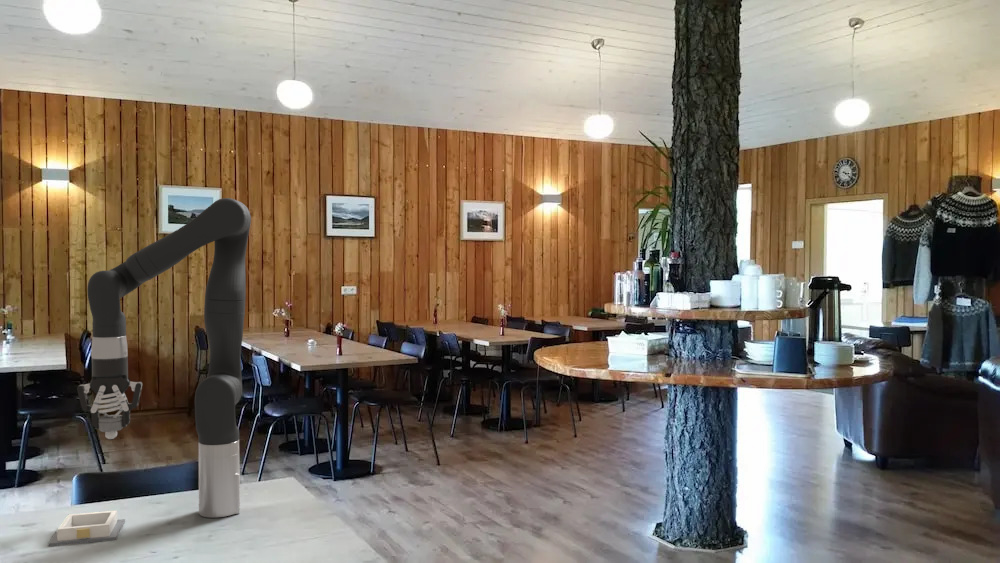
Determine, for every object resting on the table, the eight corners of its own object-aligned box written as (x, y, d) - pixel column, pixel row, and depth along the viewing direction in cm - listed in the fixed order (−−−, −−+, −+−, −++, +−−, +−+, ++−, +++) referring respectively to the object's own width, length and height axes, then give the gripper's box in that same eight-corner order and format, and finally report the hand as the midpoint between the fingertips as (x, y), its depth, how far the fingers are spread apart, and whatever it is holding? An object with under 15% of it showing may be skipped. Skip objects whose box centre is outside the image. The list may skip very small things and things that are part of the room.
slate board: (125, 521, 178) (125, 519, 178) (116, 539, 166) (116, 537, 166) (61, 527, 174) (61, 524, 174) (48, 546, 163) (48, 543, 163)
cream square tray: (117, 521, 176) (117, 510, 176) (108, 536, 166) (108, 525, 166) (68, 525, 173) (68, 514, 173) (56, 541, 163) (56, 530, 163)
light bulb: (130, 438, 182) (129, 387, 182) (110, 443, 177) (110, 391, 177) (111, 436, 184) (110, 386, 184) (92, 441, 179) (91, 390, 179)
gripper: (145, 352, 186) (146, 422, 186) (79, 354, 182) (80, 426, 182) (141, 356, 179) (142, 428, 179) (71, 358, 174) (73, 433, 175)
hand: (110, 427), depth 181 cm, fingers closed on light bulb, 5 cm apart
